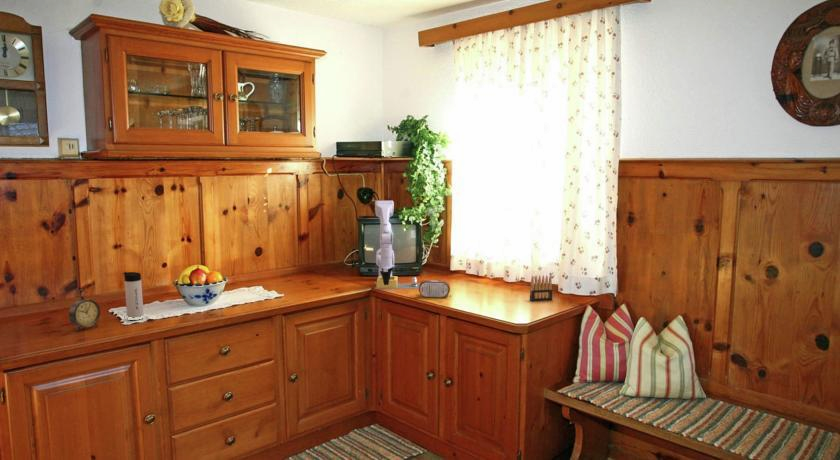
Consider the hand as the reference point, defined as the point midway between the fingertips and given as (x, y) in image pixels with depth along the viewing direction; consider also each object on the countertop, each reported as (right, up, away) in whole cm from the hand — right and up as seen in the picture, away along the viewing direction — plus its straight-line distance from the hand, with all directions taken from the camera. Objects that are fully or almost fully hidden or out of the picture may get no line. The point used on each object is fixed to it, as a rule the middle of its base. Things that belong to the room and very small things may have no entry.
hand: (386, 283), depth 298 cm
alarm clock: (-116, -12, -65) cm, 134 cm away
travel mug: (-103, -11, -52) cm, 116 cm away
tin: (+24, -6, -16) cm, 29 cm away
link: (0, -2, +5) cm, 5 cm away
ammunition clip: (+74, -6, -23) cm, 77 cm away
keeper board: (+7, -3, +5) cm, 9 cm away
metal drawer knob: (+14, -2, +4) cm, 15 cm away
